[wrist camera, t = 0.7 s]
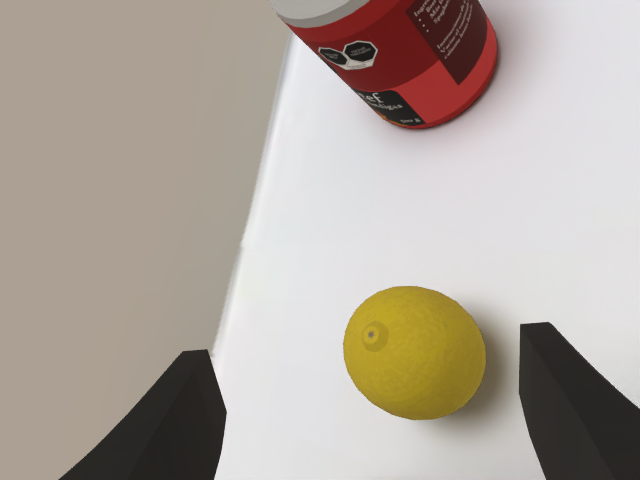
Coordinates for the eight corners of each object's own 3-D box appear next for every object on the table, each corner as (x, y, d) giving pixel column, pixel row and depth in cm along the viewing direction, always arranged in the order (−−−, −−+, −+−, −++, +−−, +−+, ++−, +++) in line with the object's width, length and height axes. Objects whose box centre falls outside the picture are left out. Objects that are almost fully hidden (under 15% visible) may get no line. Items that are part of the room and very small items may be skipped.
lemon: (460, 453, 27) (374, 443, 21) (380, 375, 31) (286, 347, 24) (535, 356, 27) (469, 318, 20) (444, 288, 30) (365, 238, 24)
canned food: (357, 76, 38) (246, -40, 30) (463, -9, 36) (373, -163, 27) (404, 160, 34) (289, 53, 26) (528, 70, 31) (445, -81, 23)
